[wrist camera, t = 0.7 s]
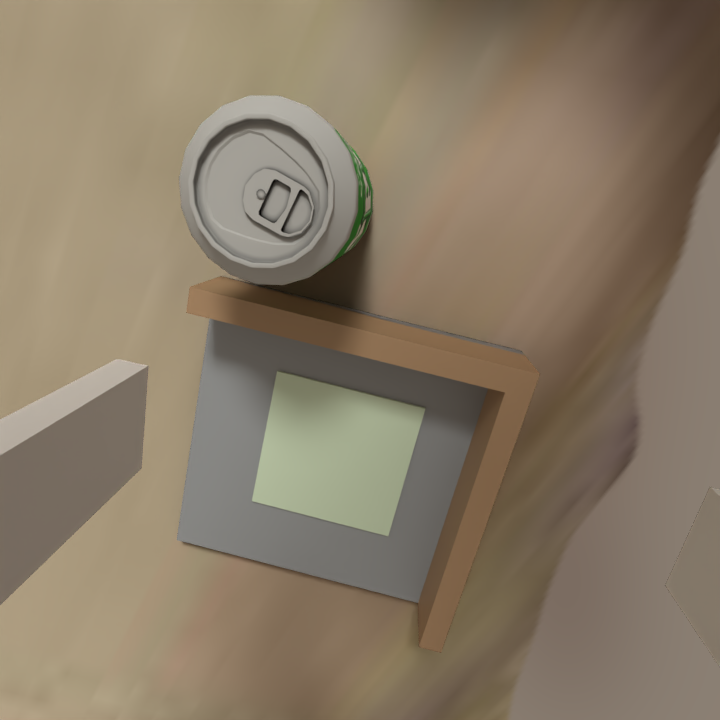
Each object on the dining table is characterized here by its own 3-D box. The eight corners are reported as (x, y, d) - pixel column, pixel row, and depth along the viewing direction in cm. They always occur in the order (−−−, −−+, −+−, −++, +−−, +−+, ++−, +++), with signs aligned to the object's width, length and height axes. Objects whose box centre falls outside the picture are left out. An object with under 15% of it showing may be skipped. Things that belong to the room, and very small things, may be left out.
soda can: (339, 283, 33) (302, 321, 21) (235, 225, 32) (140, 233, 21) (397, 173, 31) (390, 150, 19) (286, 110, 30) (211, 48, 19)
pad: (277, 370, 34) (277, 371, 34) (425, 407, 34) (425, 408, 33) (252, 499, 37) (251, 501, 37) (388, 534, 36) (388, 536, 36)
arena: (221, 276, 33) (189, 286, 29) (521, 350, 33) (540, 374, 28) (182, 531, 39) (150, 576, 34) (437, 598, 39) (441, 652, 34)
